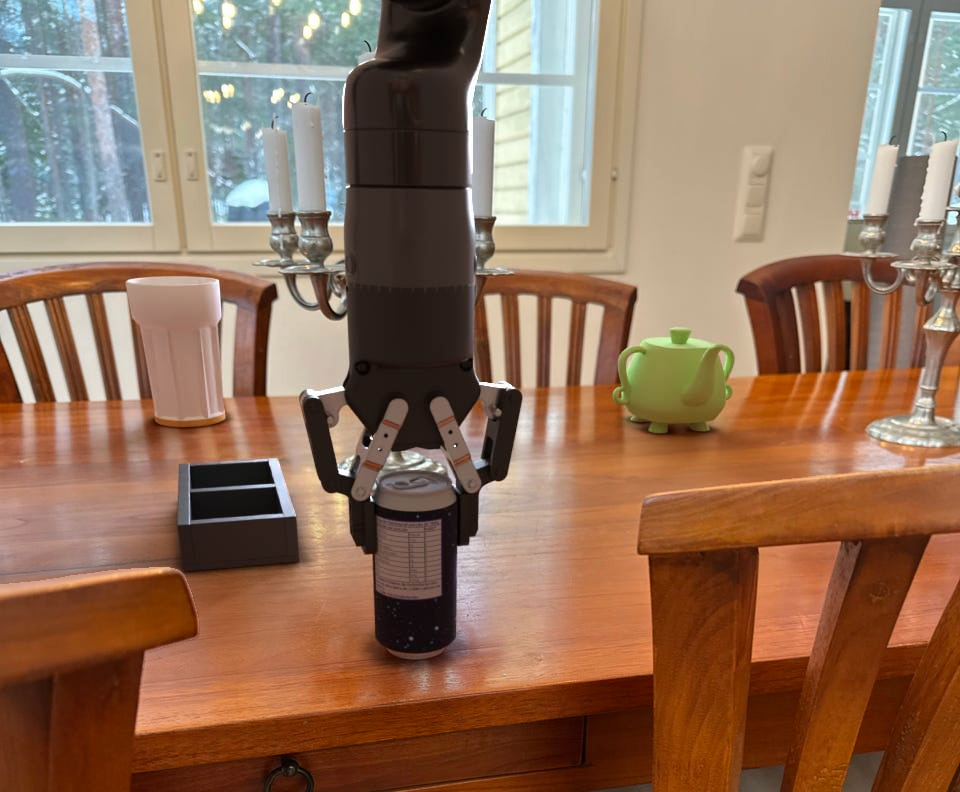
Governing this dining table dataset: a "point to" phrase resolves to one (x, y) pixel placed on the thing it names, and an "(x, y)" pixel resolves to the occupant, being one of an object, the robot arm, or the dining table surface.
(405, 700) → the dining table surface
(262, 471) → the holder
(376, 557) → the beverage can
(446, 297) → the robot arm
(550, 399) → the dining table surface
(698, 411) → the teapot
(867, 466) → the dining table surface
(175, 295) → the cup
